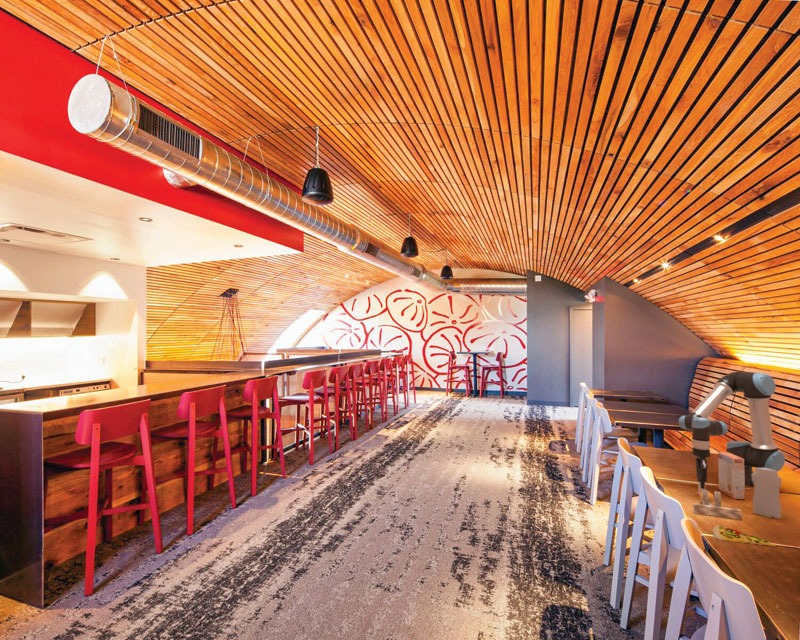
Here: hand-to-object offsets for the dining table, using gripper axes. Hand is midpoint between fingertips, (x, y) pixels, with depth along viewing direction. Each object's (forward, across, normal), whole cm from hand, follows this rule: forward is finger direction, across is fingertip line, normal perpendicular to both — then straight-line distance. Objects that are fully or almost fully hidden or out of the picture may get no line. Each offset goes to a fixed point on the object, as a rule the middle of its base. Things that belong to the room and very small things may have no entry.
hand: (702, 494), depth 222 cm
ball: (-1, +9, 0) cm, 9 cm away
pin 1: (+2, +16, -2) cm, 17 cm away
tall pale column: (+2, +15, +22) cm, 27 cm away
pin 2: (+2, +16, +2) cm, 17 cm away
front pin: (+1, +14, 0) cm, 14 cm away
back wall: (+2, +25, 0) cm, 25 cm away
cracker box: (+2, -12, +16) cm, 20 cm away
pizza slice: (+3, +50, +3) cm, 50 cm away
